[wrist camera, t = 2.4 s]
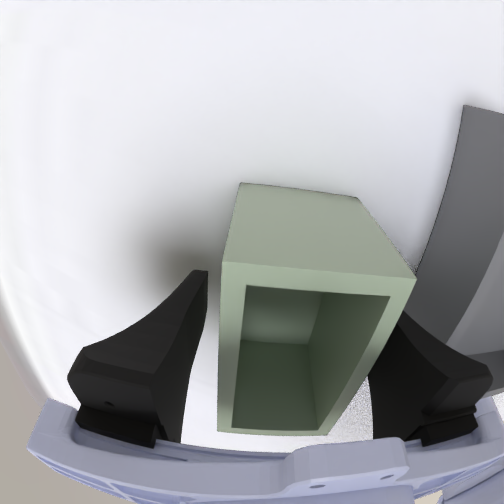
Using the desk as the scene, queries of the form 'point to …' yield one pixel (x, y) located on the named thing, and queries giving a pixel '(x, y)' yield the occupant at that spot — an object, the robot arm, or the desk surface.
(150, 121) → the desk surface
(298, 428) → the sage crate
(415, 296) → the charcoal crate
